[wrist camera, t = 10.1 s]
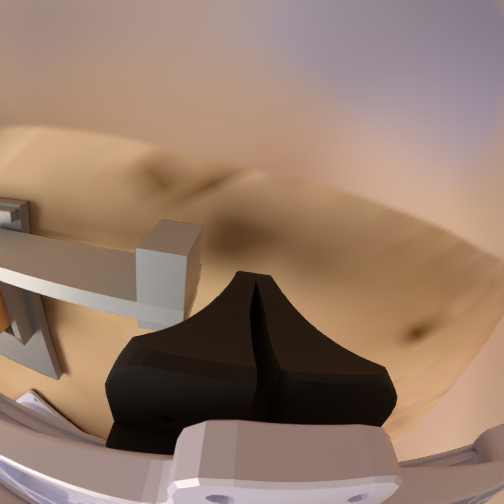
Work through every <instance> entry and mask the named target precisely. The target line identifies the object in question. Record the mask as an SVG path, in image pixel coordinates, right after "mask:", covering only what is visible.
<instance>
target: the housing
mask: <svg viewBox="0 0 504 504" xmlns="http://www.w3.org/2000/svg"><path fill="white" fill-rule="evenodd" d="M0 228H2V229H7V230H12V231H17V232H22V233H27V234H31V231H30V221H29V208H28V201H21V200H12V199H3V198H0ZM0 288H1V292H2V295H3V299H4V303H5V306H6V310H7V313H8V316H9V319H10V323H11V324H10V325H9V326H8V327H7V328H6V329H5V330H4V331H3V333H2V334H1V335H0V354H1V355H3V356H5V357H7V358H9V359H11V360H13V361H15V362H17V363H19V364H21V365H23V366H25V367H28V368H30V369H32V370H34V371H37V372H39V373H41V374H44V375H46V376H48V377H51V378H53V379H56V380H59V379H60V377H61V376H62V374H63V373H62V370H61V367H60V364H59V361H58V358H57V355H56V352H55V348H54V345H53V342H52V338H51V335H50V331H49V328H48V324H47V320H46V316H45V312H44V308H43V304H42V299H41V294H39V293H36V292H33V291H30V290H26V289H23V288H20V287H17V286H14V285H11V284H8V283H5V282H2V281H0Z"/></svg>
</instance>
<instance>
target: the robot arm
mask: <svg viewBox="0 0 504 504" xmlns="http://www.w3.org/2000/svg"><path fill="white" fill-rule="evenodd" d="M105 390H106V395H107V399H108V402H109V406H110V409H111V412H112V416H113V419H114V423H113V426H112V429H111V431H110V434H109V436H108V439H107V440H104V439H101V438H98V437H95V436H92V435H90V434H87V433H84V432H82V431H81V430H79V429H78V428H77V427H75V426H74V425H73V424H71V423H70V422H69V421H68V420H66V419H65V418H64V417H63V416H61V415H60V414H59V413H58V412H57V411H55V410H54V409H53V408H52V407H51V406H50V405H48V404H47V403H46V402H45V401H44V400H43V399H42V398H41V397H39V396H38V395H37V394H36V393H35V392H34V391H32V390H29V391H28V392H26V393H25V394H23V395H22V396H21V397H19V398H18V399H17V400H15V401H14V400H12V399H10V398H9V397H7V396H5V395H3V394H2V393H0V504H484V503H486V502H487V501H489V500H490V499H491V498H493V497H494V496H496V495H497V494H498V493H500V492H501V491H502V490H504V424H501V425H498V426H495V427H493V428H490V429H488V430H486V431H485V432H483V433H482V434H481V435H480V436H479V437H478V438H477V439H476V440H475V441H474V443H473V444H471V445H468V446H464V447H461V448H458V449H454V450H451V451H447V452H443V453H439V454H435V455H431V456H427V457H422V458H418V459H413V460H408V461H403V462H398V461H397V458H396V454H395V451H394V448H393V445H392V442H391V439H390V436H389V435H388V434H387V432H386V431H385V430H384V429H383V428H381V426H382V425H383V424H384V422H385V421H386V420H387V418H388V417H389V416H390V414H391V413H392V411H393V409H394V408H395V406H396V402H397V394H396V390H395V388H394V385H393V383H392V381H391V378H390V376H389V374H388V372H387V370H386V368H385V367H384V366H381V365H379V364H376V363H374V362H372V361H369V360H367V359H365V358H362V357H360V356H358V355H356V354H354V353H352V352H351V351H349V350H347V349H345V348H343V347H342V346H340V345H338V344H337V343H335V342H334V341H332V340H331V339H330V338H328V337H327V336H325V335H324V334H322V333H321V332H320V331H319V330H317V329H316V328H315V327H314V326H313V325H312V324H310V323H309V322H308V321H307V320H306V319H305V318H304V317H303V316H302V315H301V314H300V313H299V312H298V311H297V310H296V309H295V307H294V306H293V305H292V304H291V303H290V302H289V300H288V299H287V298H286V297H285V295H284V294H283V293H282V291H281V290H280V288H279V287H278V285H277V284H276V282H275V281H274V280H273V278H272V277H271V276H270V275H264V274H257V273H251V272H244V271H238V272H236V274H235V276H234V278H233V279H232V281H231V282H230V283H229V285H228V286H227V287H226V288H225V289H224V290H223V292H222V293H221V294H220V295H219V296H218V297H216V298H215V299H214V300H213V301H212V302H211V303H210V304H209V305H207V306H206V307H205V308H204V309H202V310H201V311H199V312H198V313H196V314H195V315H193V316H192V317H190V318H188V319H186V320H184V321H182V322H180V323H178V324H176V325H173V326H171V327H168V328H165V329H163V330H159V331H156V332H152V333H148V334H144V335H140V336H135V337H133V338H132V339H131V340H130V341H129V343H128V344H127V345H126V347H125V348H124V349H123V351H122V352H121V353H120V355H119V356H118V358H117V360H116V361H115V363H114V365H113V367H112V369H111V371H110V373H109V375H108V378H107V380H106V383H105Z"/></svg>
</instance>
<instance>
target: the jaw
mask: <svg viewBox="0 0 504 504" xmlns="http://www.w3.org/2000/svg"><path fill="white" fill-rule="evenodd" d="M10 324H11V323H10V319H9V316H8V313H7V310H6V306H5V303H4V299H3V295H2V292H1V288H0V335H1V334H2V333H3V331H4V330H5V329H6V328H7V327H8V326H9V325H10Z"/></svg>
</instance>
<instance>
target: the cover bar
mask: <svg viewBox="0 0 504 504" xmlns="http://www.w3.org/2000/svg"><path fill="white" fill-rule="evenodd" d="M202 233H203V226H202V225H195V224H188V223H182V222H175V221H168V220H162V221H161V222H160V223H159V224H158V225H157V226H156V227H155V228H154V229H153V230H152V231H151V232H150V233H149V234H148V235H147V236H146V238H145V239H144V240H143V241H142V242H141V243H140V244H139V245H138V246H137V247H136V253H131V252H125V251H119V250H114V249H108V248H102V247H97V246H91V245H86V244H80V243H75V242H69V241H64V240H59V239H53V238H48V237H43V236H38V235H32V234H27V233H22V232H17V231H12V230H7V229H2V228H0V281H2V282H5V283H8V284H11V285H14V286H17V287H20V288H23V289H26V290H30V291H33V292H36V293H39V294H42V295H46V296H49V297H52V298H56V299H59V300H63V301H66V302H70V303H74V304H77V305H81V306H85V307H89V308H93V309H97V310H101V311H105V312H109V313H113V314H117V315H121V316H126V317H130V318H135V319H138V327H140V328H145V329H149V330H154V331H159V330H163V329H165V328H168V327H171V326H173V325H176V324H178V323H180V322H182V321H184V320H186V319H188V318H189V315H190V312H191V309H192V306H193V304H194V301H195V298H196V295H197V286H198V284H199V281H200V276H201V265H202V264H199V263H200V252H201V242H202Z"/></svg>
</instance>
